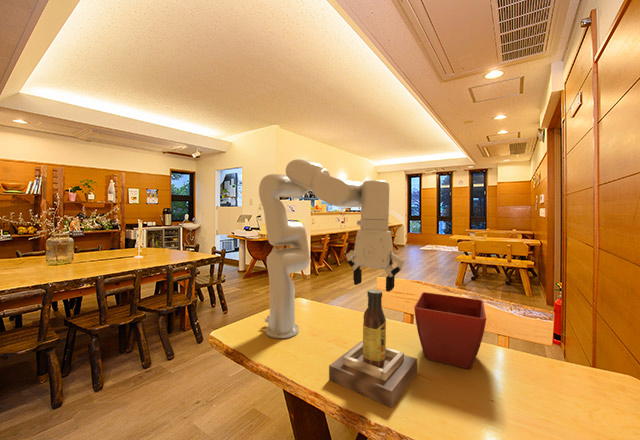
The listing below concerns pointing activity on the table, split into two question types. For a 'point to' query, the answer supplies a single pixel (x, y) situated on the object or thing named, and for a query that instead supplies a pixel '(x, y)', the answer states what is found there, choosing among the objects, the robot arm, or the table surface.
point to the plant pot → (450, 328)
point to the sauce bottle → (374, 330)
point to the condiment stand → (374, 374)
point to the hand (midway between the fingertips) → (372, 287)
